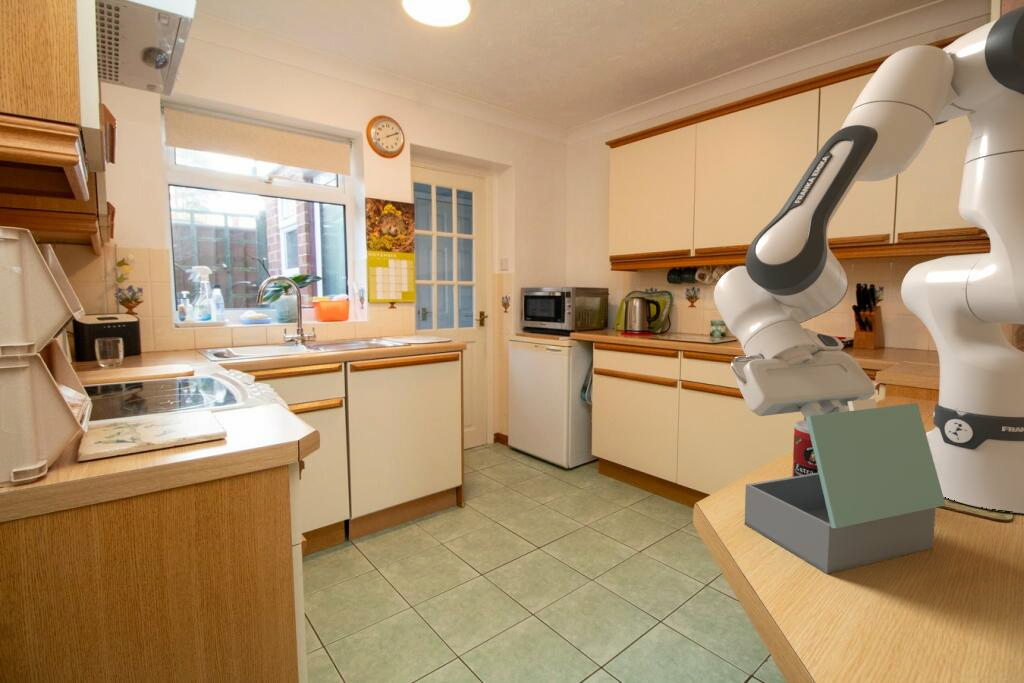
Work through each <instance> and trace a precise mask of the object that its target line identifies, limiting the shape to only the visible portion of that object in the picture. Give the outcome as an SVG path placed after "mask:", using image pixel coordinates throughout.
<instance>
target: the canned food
mask: <svg viewBox="0 0 1024 683" xmlns="http://www.w3.org/2000/svg"><path fill="white" fill-rule="evenodd" d="M793 428H794V429H793V430H794V431H793V452H792V453H793V456H792V457H793V458H792V477H795V476H801V475H807V474H813V473H819V472H818V468H817V463H816V459H815V455H814V450H813V446H812V442H811V437H810V433H809V429H808V424H807V420H805V419H803V420H799V421H796V422H795V424H794V427H793Z"/></svg>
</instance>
